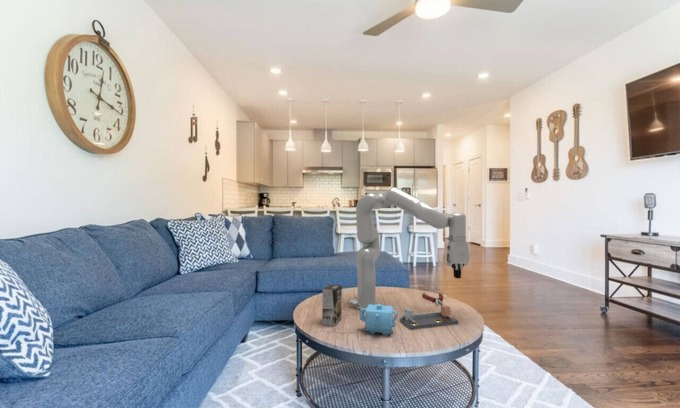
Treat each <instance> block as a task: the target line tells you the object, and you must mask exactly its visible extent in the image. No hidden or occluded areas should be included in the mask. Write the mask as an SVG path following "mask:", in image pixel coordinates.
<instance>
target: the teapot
mask: <svg viewBox="0 0 680 408" xmlns="http://www.w3.org/2000/svg"><path fill="white" fill-rule="evenodd" d="M394 314H395V316H394ZM359 316H360V317H359V319H360V321H362V322H364V324H365V332H369V333H368V334H370V335H375V334H376V333H382V336H385V337H387V336H389V334H392V333H393V328H395V327H397V324H396V322H395V321H396V320H397V318H398V312H397V311H396V310H395V309H394V307H393V305H383V304H381V303H378V304H377V305H370V304H369V305H368V307H367V308H361V309H359Z"/></svg>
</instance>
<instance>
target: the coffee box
mask: <svg viewBox="0 0 680 408" xmlns="http://www.w3.org/2000/svg"><path fill="white" fill-rule="evenodd" d="M342 288H343V286H342V285H341V284H340V285H339V284H328V285H327V286H325V287H324V288H322V305H321V306H322V309H321V311H322V312H321V313H322V316H321V317H322V319H321V321H322V322H321V324H322V325H324V326H330V327H336V326H337V325H338V324H339V323H340V322H341V321H342V318H343V317H342V316H343V314H342V313H343V312H342V311H343V309H342V303H343V301H342V300H343V297H342V295H343V294H342V293H343V289H342Z"/></svg>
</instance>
